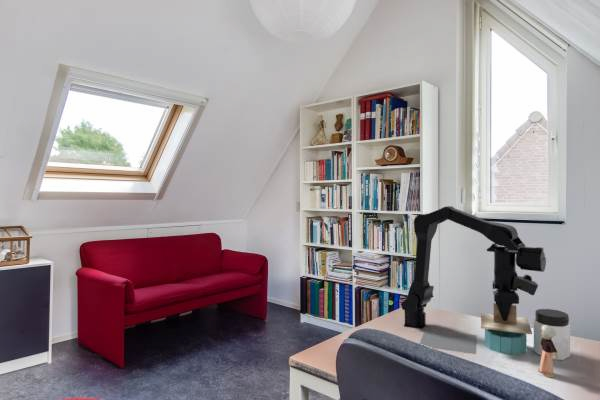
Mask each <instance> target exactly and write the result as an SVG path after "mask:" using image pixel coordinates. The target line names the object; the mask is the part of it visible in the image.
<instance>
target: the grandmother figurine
mask: <svg viewBox="0 0 600 400" xmlns="http://www.w3.org/2000/svg"><path fill="white" fill-rule="evenodd" d="M541 329H542V332H541V335H542V337H543V338H542V339H541V345H540V349H542V350H543V351H542V356H540V362H539V365H540V366H539V367H538V369H537V370H538V372H539V373H542V376H544V377H545V378H555V377H556V374H555V373H554V361H557V359H558V357H557V350H556V348H555V346H554V344H553V342H552V340H551V339H552V337H554V336H556V335H557V334H556V332H555V331H554V329H553V328H552V327H550V326H547V325H543V326H542V328H541ZM552 355H553V358H552Z"/></svg>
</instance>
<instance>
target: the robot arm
mask: <svg viewBox="0 0 600 400" xmlns="http://www.w3.org/2000/svg"><path fill="white" fill-rule="evenodd" d="M447 220H449V221H451V222H454V223H456V224H458V225H460V226H463V227H465V228H468V229H471V230H473V231H475V232H477V233H480V234H481V235H483V236H484V237H485V238H486V239H487V240H490V241H491V242H492V244H491V245H490V246H489V247H488V248H487V249H486V251H487V252H489V253H490V252H493V253H494V255H493V259H494V260H493V262H494V263H493V281H492V289H493V291H492V292H493V300H494V301H493V302H494V303H496V305H497V307H498V310H499V312H500V314H501V317H502V319H503V321H507V319H508V315H509V312H510V308H511V305H519V304H520V296H519V294H518V293H517V291H518V290H520V291H523V292H525V293H527V294H528V295H531V296H534V295H535V294H536V292H537V289H538V287H539V285H538V283H537V282H535V281H534V280H533V279H532V276H531V275H529V274H526V273H525V274H524V275H523V276H520V275H518V273H517V270H516V266H517V267H518V268H520V270H525V271H532V272H540V273H541V272H542V273H544V272H545V270H546V265H547V258H546V254H545V251H544V250H545V249H544V247H539V246H536V247H532V246H526V244H525V243H524V242H523V241H522V240H521V238H520V237H519V236H518V231H517V228H516V227H514V226H513V225H510V224H505V223H501V222H494V221H488V220H485V219H483V218H480V217H478V216H476V215H473V214H470V213H468V212H464V211H463V210H459V209H458V208H455V207H454V206H452V205H451V206H450V205H449V206H448V205H447V206H443V207H441V208H439V209H437V210H435V211H432V212H428V213H423V214H422V213H421V214H417V216H416V217H414V219H413V229H414V230H413V232H414V234H415V237H416V250H415V251H416V252H415V253H416V254H415V262H414V275H413V279H412V283H411V284H410V286H409V289H408V292H407V297H406V299H405V300H403V301H402V302H401V303H400V305H401V308H402V310H403V311H404V324H403V327H404V328H412V329H422V330H423V329H424V327H425V326H426V325H427V314H426V312H425V308H426V307H427V304H428V303H430V302H431V301H432V298H434V294H433V293H434V292H433V291H434V285H430V281H429V272H430V264H431V263H430V262H431V252H432V251H431V250H432V241H433V238H434V236H435V235H436V232H437V229H438V225H440V224H442V223H444V222H446V221H447ZM495 289H496V290H495Z"/></svg>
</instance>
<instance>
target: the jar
mask: <svg viewBox="0 0 600 400" xmlns="http://www.w3.org/2000/svg"><path fill="white" fill-rule="evenodd" d="M534 314H535V319H533V352H535V353H536V354H537V355H539V356H540V357H542V351H543V350H542V349H540V345H541V339H542V338H543V337H542V335H541V332H542V329H541V328H542V326H543V325H547V326H550V327H552V328H553V329H554V331H555V332H556V334H557V335H556V336H554V337H552V339H551V340H552V342H553V344H554V346H555V348H556V350H557V357H558V359H557V360H558V361H563V360H566V359H568V358H570V357H571V323H570V322H569V321H570V318H569V314H568V313H567V312H564V311H561V310H559V309H558V310H557V309H551V308H539V309H536V310H535V313H534ZM552 358H553V355H552ZM557 360H556V361H557Z"/></svg>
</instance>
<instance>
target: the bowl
mask: <svg viewBox="0 0 600 400" xmlns="http://www.w3.org/2000/svg"><path fill="white" fill-rule="evenodd" d="M484 346H485V348H488V349H489V350H491V351H493V352H496V353H498V354H500V353H501V354H504V355H505V354H506V355H522V354H524V353H526V352H527V334H525V333H516V332H508V331H499V330H491V329H484Z"/></svg>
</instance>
